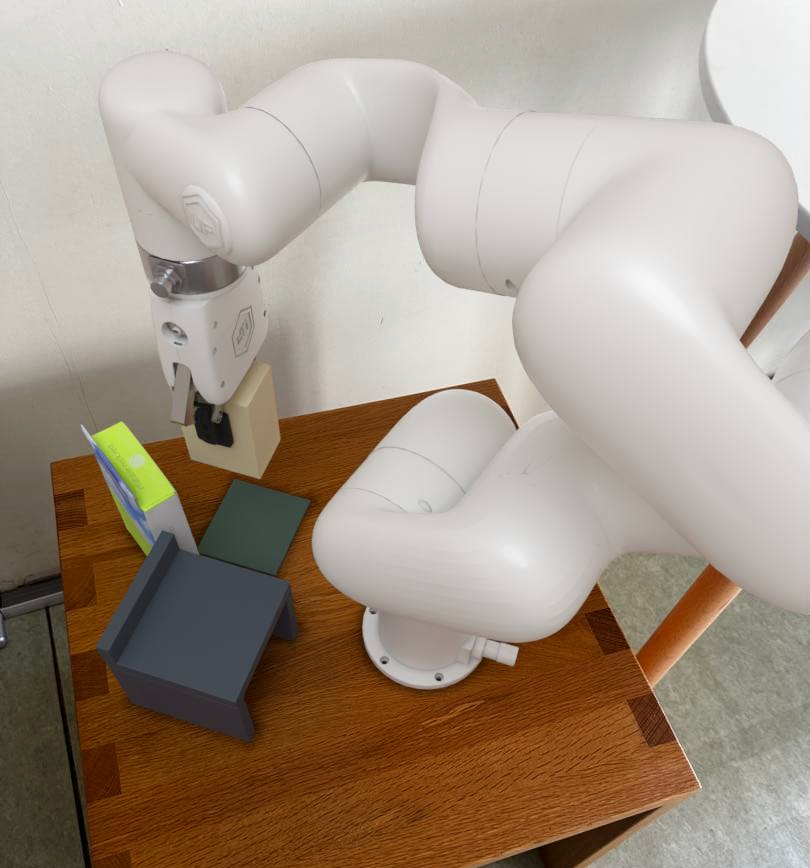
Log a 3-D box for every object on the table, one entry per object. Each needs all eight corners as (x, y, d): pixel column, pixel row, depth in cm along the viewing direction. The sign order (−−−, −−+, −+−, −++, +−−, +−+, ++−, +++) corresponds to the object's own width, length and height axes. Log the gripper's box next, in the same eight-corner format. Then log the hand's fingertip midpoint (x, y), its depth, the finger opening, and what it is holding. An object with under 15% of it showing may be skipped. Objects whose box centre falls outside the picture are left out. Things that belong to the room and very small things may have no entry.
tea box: (213, 420, 80) (194, 344, 72) (281, 439, 79) (270, 364, 71) (190, 459, 77) (168, 385, 69) (260, 479, 76) (247, 407, 68)
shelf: (298, 631, 83) (288, 567, 72) (250, 742, 77) (231, 690, 66) (188, 597, 85) (162, 530, 74) (132, 703, 78) (95, 647, 68)
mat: (310, 502, 91) (310, 500, 91) (275, 577, 86) (275, 575, 86) (234, 480, 93) (234, 478, 92) (195, 553, 87) (195, 551, 87)
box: (209, 577, 86) (175, 477, 71) (174, 599, 84) (132, 501, 70) (157, 510, 90) (116, 402, 75) (123, 529, 89) (74, 423, 74)
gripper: (190, 342, 54) (229, 502, 69) (288, 190, 63) (304, 362, 78) (85, 315, 55) (147, 479, 70) (197, 168, 64) (230, 342, 79)
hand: (229, 416), depth 74 cm, fingers closed on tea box, 5 cm apart
